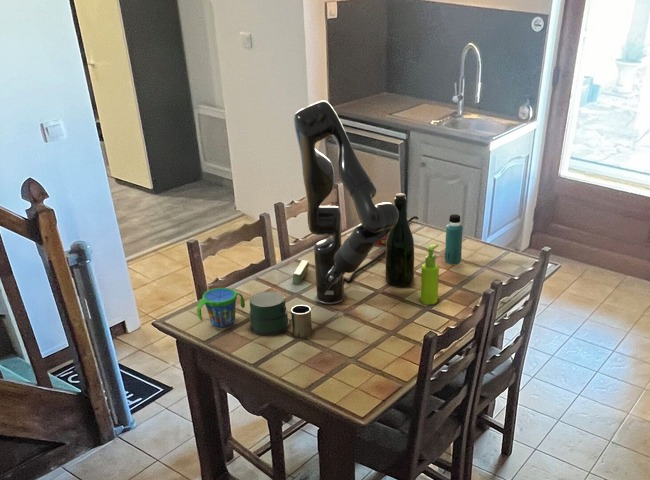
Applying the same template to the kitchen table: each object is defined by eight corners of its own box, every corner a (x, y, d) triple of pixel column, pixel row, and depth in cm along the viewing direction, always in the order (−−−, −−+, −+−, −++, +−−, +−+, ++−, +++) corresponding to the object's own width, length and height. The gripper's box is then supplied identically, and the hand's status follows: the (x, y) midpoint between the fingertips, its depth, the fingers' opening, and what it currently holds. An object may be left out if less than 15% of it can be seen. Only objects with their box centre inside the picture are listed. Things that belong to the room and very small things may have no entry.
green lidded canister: (263, 314, 228) (260, 287, 223) (296, 321, 225) (294, 294, 219) (242, 331, 219) (239, 303, 213) (276, 339, 215) (273, 311, 210)
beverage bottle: (464, 263, 266) (467, 214, 255) (455, 269, 261) (458, 219, 250) (449, 259, 269) (452, 210, 258) (440, 265, 264) (443, 216, 253)
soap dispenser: (441, 297, 241) (443, 244, 231) (433, 306, 236) (435, 252, 225) (425, 294, 243) (427, 241, 233) (417, 302, 238) (419, 248, 227)
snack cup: (240, 310, 230) (236, 282, 225) (252, 323, 223) (249, 295, 218) (194, 321, 223) (189, 293, 218) (205, 336, 216) (200, 307, 210)
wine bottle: (397, 291, 245) (398, 201, 227) (379, 280, 251) (378, 193, 234) (419, 282, 251) (422, 195, 233) (401, 273, 257) (402, 187, 240)
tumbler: (299, 328, 221) (297, 303, 217) (315, 331, 220) (314, 307, 215) (289, 336, 217) (287, 311, 212) (306, 340, 215) (304, 315, 210)
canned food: (373, 255, 282) (361, 235, 277) (378, 243, 289) (367, 223, 284) (397, 246, 277) (385, 225, 272) (401, 234, 285) (390, 213, 280)
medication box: (299, 284, 247) (300, 275, 245) (292, 283, 248) (292, 273, 245) (308, 270, 257) (308, 260, 255) (301, 268, 257) (301, 259, 255)
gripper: (353, 233, 200) (329, 265, 211) (329, 256, 190) (306, 289, 201) (373, 250, 201) (348, 281, 212) (350, 274, 191) (325, 305, 202)
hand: (327, 284), depth 207 cm, fingers open, 8 cm apart
